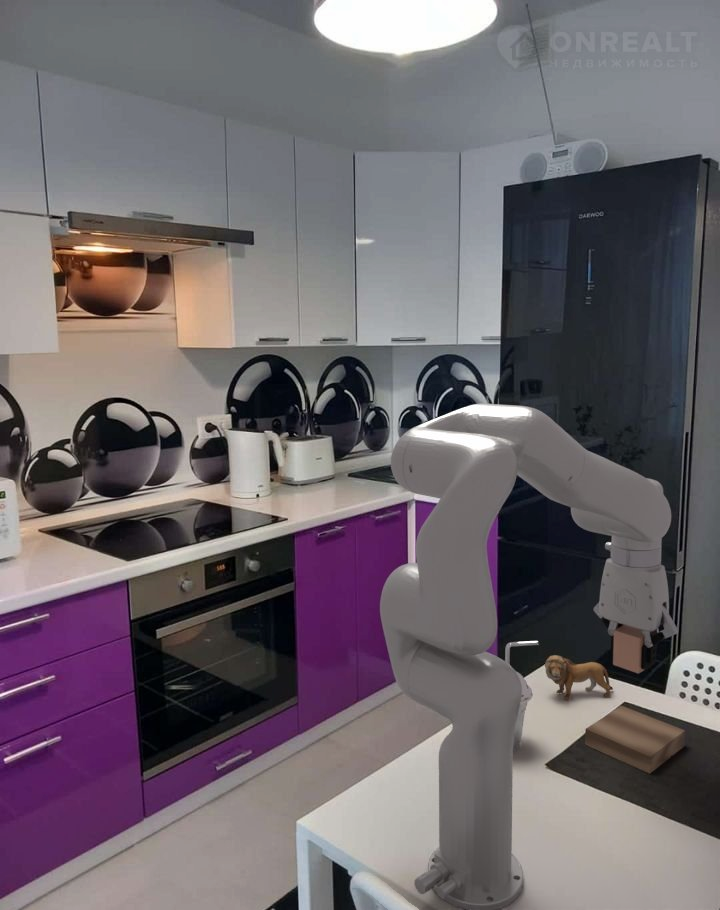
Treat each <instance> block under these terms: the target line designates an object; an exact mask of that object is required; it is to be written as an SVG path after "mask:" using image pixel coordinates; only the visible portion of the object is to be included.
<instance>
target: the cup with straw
mask: <svg viewBox="0 0 720 910" xmlns="http://www.w3.org/2000/svg"><path fill="white" fill-rule="evenodd" d="M539 645H540V643H539V640H529V641H528V640H527V641H513V642H508V643H507V644H506V646H505V652H504V653H505V655H504V656H505V657H504V658H505V659H504V661H505V662H507V663H508V664H509V665H510V652H511V649H510V648H511V647H523V646H524V647H525V646H526V647H527V646H539ZM516 673H517V674H518V676H519V678H520V681H521V686H522V696H521V703H520V707H519V712H518V716H517V721H516V726H515V732H514V741H513V752H516V751H519V750H520V748H521V744H520V743H521V742H522V734H523V730H524V729H523V727H524V720H525V715H526V711H527V706H528V703H529V702H530V701H531V700H532V699H533V696H534V695H533V691H532V687H530V685H529V684H528V683H527V681H526V679H525V678H524V675H522V674H521V673H520V672H518V671H516Z"/></svg>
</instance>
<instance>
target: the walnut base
mask: <svg viewBox="0 0 720 910" xmlns="http://www.w3.org/2000/svg"><path fill="white" fill-rule="evenodd" d="M584 729H585V732H584V734H585V737H584V745H585V746H587V747H589V748H592V749H593V750H596V751H598V752H601V753H603V754H605V755H606V756H609V757H611V758H614V759H616V760H619V761H620V762H622V763H625V764H628V765H629V766H631V767H634V768H637V769H639V770H640V771H643V772H645V773H647V774H650V775H651V773H653V772H654V771H655V770H657V769H658V768H659V767H660V766H662V765H664V763H666V761H668V760H669V759H671V758H672V757H673V756H674V755H675V754H677V753H678V752H679V751H680V750H682V749H683V748H684V747H685V742H686V741H685V740H686V739H685V738H686V730H685V729H682V728H680V727H678V726H675V725H672V724H671V723H667V722H664V721H663V720H660V719H657V718H654V717H652V716H649V715H647V714H644V713H642V712H639V711H637V710H634V709H631V708H628V707H626V706H623V705H620V706H618V707H617V708H616V709H613V710H612V711H610V712H608V714H606V715H605V716H602V718H600V719H599V720H596V722H594V723H592V724H591V725H589V726H588V727H586V728H584ZM671 756H672V757H671Z"/></svg>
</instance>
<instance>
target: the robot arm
mask: <svg viewBox="0 0 720 910" xmlns="http://www.w3.org/2000/svg"><path fill="white" fill-rule="evenodd" d="M391 452H392V453H391V456H390V469H391V472H392V476H393V477H394V479H395V481H396V482H397V484H398V485H399V486H400V487H402V488H403V489H404V490H406V491H408V492H410V493H412V494H416V495H421V496H426V497H429V498H430V497H431V498H436V499H439V500H438V502H437V504H436V505H435V506H434V508H433V509H432V510H431V512H430V514H429V515H428V517H427V518H426V520H425V521H424V523H423V524H422V526H421V527H420V530H419V531H418V535H417V538H416V542H415V558H416V559H415V560H416V562H408V563H406V564H402V565H400V566H398V567H397V568H395V569H394V570H393V571H392V572H391V573H390V574H389V576H388V577H387V578H386V581H385V582H384V585H383V587H382V591H381V595H380V601H379V613H380V619H381V620H380V621H381V624H382V625H381V626H382V630H383V635H384V638H385V639H384V640H385V643H386V647H387V652H388V657H389V660H390V665H391V669H392V672H393V676H394V680H395V682H396V684H397V686H398V688H399V690H401V692H402V693H403V694H404V695H405V696H406V697H407V698H408V699H411V700H413V701H414V702H416V703H418V704H420V705H422V706H424V707H426V708H427V709H430V710H432V711H433V712H436V713H438V714H439V715H440V716H443V717H444V718H446V719H448V721H450V722H451V726H452V729H451V731H450V732H449V733H448V734H447V735H446V736H445V738H444V739H443V740H442V742H441V744H440V748H439V751H438V827H439V828H438V833H439V835H438V837H439V839H438V841H439V843H438V844H439V846H438V847H437V848H436V849H435V850H433V852H432V854H431V856H430V857H429V859H428V862H427V871H426V872H424V873H423V874H421V875H419V876H418V877H416V878H415V880H414V887H415V889H416V891H417V892H418V893H419V894H420V895H425V894H426V893H428V892H429V891H430V890H431V889H433V891H434V892H435V893H436V894H437V895H438V897H439V898H440V899H443V900H444V901H446V902H447V903H449V904H451V905H453V906H455V907H457V908H460V909H464V910H498V909H501V908H504V907H506V906H507V905H510V904H511V903H513V902H514V901H515V900H516V899H517V898H518V896H519V895H520V894H521V892H522V890H523V886H524V871H523V867H522V864H521V862H520V861H519V860H518V858H517V857H516V856H515V855H514V853H512V849H513V848H512V847H513V846H512V845H513V843H512V842H513V760H514V759H513V757H514V756H513V755H514V751H513V741H514V732H515V726H516V721H517V716H518V712H519V707H520V703H521V696H522V686H521V681H520V678H519V676H518V674H517V673H516V672H517V671H516V670H515V669H514V668H513V666H511V665H510V663H509V664H508V663H507V662H505V659H502V658H500V657H498V656H497V655H494V654H492V653H490V652H487V650H489V649H490V648H491V647H492V646H493V644H494V642H495V641H496V638H497V632H498V615H497V608H496V602H495V595H494V590H493V585H492V578H491V573H490V566H489V565H490V564H489V557H488V551H487V550H488V549H487V548H488V547H487V546H488V545H487V543H488V539H489V535H490V531H491V529H492V526H493V524H494V521H495V520H496V517H497V516H498V514H499V512H500V510H502V507H503V505H504V504H505V502H506V501H507V499H508V497H509V496H510V494H511V492H512V491H513V488H514V486H515V483H516V479H517V477H519V478H521V479H522V480H523V481H525V482H527V484H529V485H530V486H531V487H532V488H534V489H535V490H537V491H538V492H539V493H541V494H542V495H543V496H545V497H547V498H548V499H549V500H551V501H554V502H556V503H559V504H561V505H564V506H567V507H569V508H570V514H571V517H572V520H573V521H574V522H575V524H576V525H577V527H580V528H582V529H583V530H585V531H588V532H592V533H596V534H601V535H605V536H611V541H607V542H606V543H605V544H604V549H605V550H606V551H609V552H610V557H609V558H606V560H605V564H604V567H603V571H602V572H603V573H602V578H601V581H600V582H601V583H600V590H599V601H598V602H597V604H595V606H594V607H593V612H594V613H595V614H596V616H598V618H599V619H601V621H602V622H603V623H602V624H604V626H605V627H606V629H607V634H608V635H610V651H611V659H612V660H613V647H614V630H615V629H617V628H619V627H621V626H623V625H626V626H630V627H633V628H636V629H640V630H642V632H643V637H644V642H645V645H643V646H642V655H641V668H642V669H644V670H643V671H646V670H648V669H649V668H650V667H652V666H654V665H655V664H656V661H657V647H658V646H657V645H658V644H659V643H661V642H662V641H663V640H665V639H668V638H671V637H672V636H675V635H676V634H678V633H679V629H678V627H677V625H676V624H675V622H674V620H673V619H672V617H671V615H670V598H669V597H670V596H669V586H668V584H669V583H668V579H667V578H668V577H667V573H666V572H667V571H666V567H665V565H663V564H662V541H663V540H662V538H663V537H665V535H666V534H667V532H668V531H669V528H670V527H671V522H672V509H671V507H670V506H671V505H670V503H669V500H668V499H667V497H666V496H665V495H664V487H663V485H662V484H661V483H660V482H659V481H658V480H655V479H652V478H648V477H647V478H646V477H645V476H643V475H642V474H639V473H638V472H636V471H634V470H632V469H630V468H627V467H625V466H623V465H621V464H618V463H616V462H614V461H612V460H609V459H608V458H605V457H603V456H601V455H599V454H597V453H594V452H592V451H589V450H588V449H586V448H585V447H584V446H582V445H581V443H579V442H578V441H577V440H575V438H574V437H573V436H571V435H570V434H569V433H568V432H566V431H565V430H564V429H563V428H562V426H560V425H559V424H558V423H557V422H555V421H554V420H553V419H552V418H551V417H549V416H548V415H547V414H546V413H544V412H543V411H541V410H539V409H537V408H534V407H530V406H527V405H512V404H499V403H497V404H494V403H475V404H469V405H467V406H464V407H461V408H458V409H455V410H453V411H450V412H448V413H445V414H444V415H441V416H439V417H436V418H434V419H431V420H429V421H426V422H423V423H421V424H419V425H417V426H414V427H412V428H410V429H409V430H407V431H406V432H405V433H403V434H402V435H401V436H400V437H399V438H398V440H397V441H396V443H395V445H394V447H393V449H392V451H391ZM661 625H662V626H663V630H660V631H659V627H660V626H661Z"/></svg>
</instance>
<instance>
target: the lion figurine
mask: <svg viewBox="0 0 720 910" xmlns="http://www.w3.org/2000/svg"><path fill="white" fill-rule="evenodd" d="M544 668H545V674H546V677H547V678H548V679H549V680H551V681H553V682H554V683H555V684H556V685H558V688H559V689H557V690H556V694H557V693H562V694H564V691H565V695H564V696H563V699H564V700H565V699H566V700H565V701H570V700H571V698H572V687H573V684H575V683H577V684H578V683H584V682H585V681H587V680H590V685H589V686H586V687H585V691H586V692H589V691H590V692H592V691H593V690H594V689H595V687H597V685H598V686H599V687H600V688H602V689H604V690H605V692H604V693H603V694H602V696H603V697H604V698H606V697H607V698H606V699H609V698H610V696H611V691H613V690H614V688H613V686H611V685H610V680H609V674H608V672H607V669H606V668H605V667H604V666H603V665H602V664H601V663H598V662H594V661H590V662H585V663H579V664H578V663H577V664H576V663H574V662H572V661H571V660H570V659H568V658H565V657H563V656H561V655H557V654H554V655H550V656H549V657H548V658H547V659H546V660H545V664H544ZM569 699H570V700H569Z"/></svg>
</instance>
